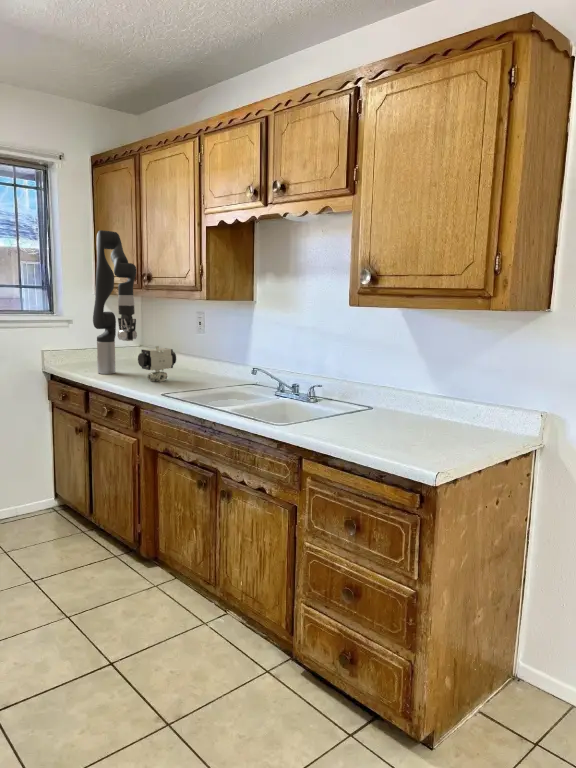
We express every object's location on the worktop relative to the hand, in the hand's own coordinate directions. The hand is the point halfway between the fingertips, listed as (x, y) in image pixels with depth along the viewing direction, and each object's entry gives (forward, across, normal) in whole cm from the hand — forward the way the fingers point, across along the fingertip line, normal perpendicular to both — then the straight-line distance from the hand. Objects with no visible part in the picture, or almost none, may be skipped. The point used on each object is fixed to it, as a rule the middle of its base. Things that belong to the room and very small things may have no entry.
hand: (127, 339), depth 281 cm
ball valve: (+22, +6, +13) cm, 26 cm away
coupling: (+1, 0, 0) cm, 1 cm away
